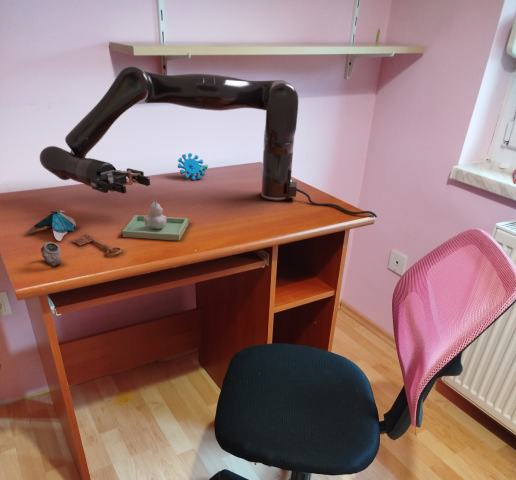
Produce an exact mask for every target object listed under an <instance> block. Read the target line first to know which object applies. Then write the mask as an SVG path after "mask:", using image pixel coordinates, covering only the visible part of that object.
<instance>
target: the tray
mask: <svg viewBox="0 0 516 480" xmlns="http://www.w3.org/2000/svg"><path fill="white" fill-rule="evenodd" d="M145 216H146V214H145V215H143V214H142V215H141V214H135V215H134V216H133V218H131V219H130V221H129V222H128V223H127V225H126V226H124V228H123V229H122V231H121V232H122V237H123V238H137V239H148V240H149V239H151V240H163V241H165V240H166V241H178V242H179V241H181V239H182V236H183V235H184V233H185V231H186V229H187V228H188V226H189V224H190V223H189V218H187V217H175V216H173V217H171V216H165V217H166V225H165V227H163V228H161V229H154V228H152V227H150V226H149V227H146V226H145V222H144V220H143V218H144V217H145Z"/></svg>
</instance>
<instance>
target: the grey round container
mask: <svg viewBox="0 0 516 480" xmlns="http://www.w3.org/2000/svg"><path fill="white" fill-rule="evenodd" d="M40 252H41V255H42V257H43V259H44V261H46V263H47V264H48V265H51V266H53V267H58V266H60V265H61V264H62V256H61V247H60V246H59V245H58V244H57V243H55V242H53V241H49V242H45V243H43V244H42V246H41V248H40Z"/></svg>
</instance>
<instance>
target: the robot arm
mask: <svg viewBox="0 0 516 480" xmlns="http://www.w3.org/2000/svg"><path fill="white" fill-rule="evenodd" d="M143 104H144V105H145V104H169V105H176V106H180V107H185V108H189V109H195V110H202V111H203V110H204V111H215V112H216V111H219V112H221V111H233V110H238V109H239V110H240V109H254V110H260V111H261V110H262V111H265V126H264V131H263V132H264V133H263V148H262V149H263V151H262V174H261V175H262V176H261V193H260V196H261V197H262V198H263V199H265V200H269V201H277V202H279V201H280V202H281V201H290V198H291V197H292V198H295V197H297V192H298V193H300V194H302V195H304V196H306V198H307V199H308V202H309V203H310V204H312V205H314V206H321V207H326V206H327V207H328V206H329V207H335V208H338V209H339V210H341V211H343V212H345V213H348V214H350V215H362V214H363V215H364V214H370V215H372V216H373V217H374V218H378V215H377V214H375V212H373V211H370V210H361V211H360V210H359V211H352V210H349V209H347V208H345V207H344V206H341V205H339V204H337V203H336V204H335V203H326V202H323V203H320V202H315V201H313V200H312V199H311V196H310V195H309V194H308V193H307V192H306V191H303V190H302V189H299V188H298V182H297V181H292V173H293V157H294V143H295V135H296V132H297V125H298V124H297V123H298V115H299V95H298V92H297V90H296V88H295V87H294V86H293V85H292V84H291V83H290V82H289V81H286V80H282V79H277V80H276V79H275V80H272V79H271V80H248V79H242V78H239V77H238V78H237V77H232V76H228V75H219V74H213V73H211V74H210V73H182V74H171V75H170V74H161V73H157V72H156V73H155V72H151V71H146V70H143V69H142V68H139V67H137V66H133V65H128V66H126V67H123V68H122V69H121V70H120V71H119V73H118V74H117V76H116V77H115V79H114V81H113V82H112V83H111V85H110V86H109V88H108V90H107V91H106V92H105V93H104V95H103V96H102V97H101V99H100V100H99V101H98V102H97V104H96V105H95V106H94V107H93V108H92V109H91V110H90V111H89V112H87V114H86V115H85V116H84V117H83V118H82V119H81V120H80V121H79V122H78V123H77V124H76V125H74V127H73V128H72V129H71V130H70V131H69V132H68V133H67V134H66V136H65V137H64V141H65V143H66V145H67V147H68V148H69V149H70V151H68V150H66V149H63V148H62V147H59V146H57V145H49V146H46V147H44V148H43V149H42V150H41V152H40V154H39V162H40V164H41V166H42V167H43V168H44V169H45V170H46V171H48V172H49V173H51V174H52V175H54V176H56V177H57V178H58V179H60V180H63V181H69V180H72V181H74V182H77V183H80V184H82V185H85V186H88V187H90V188H91V189H92V190H95V191H97V192H101V193H103V194H108V193H109V191H110V192H111V193H114V192H117V193H119V194H127V186H132V185H133V184H138V185H141V186H142V185H143V186H145V187H149V186H151V178H150V177H149V176H145V172H144V171H143V170H138V169H133V168H128V167H127V168H126V170H121V169H116V167H115V166H114V164H112V163H110V162H108V161H104V160H99V159H96V158H91V157H86V156H87V155H88V154H89V153H90V152H91V151H92V149H93V148H94V147H95V146H97V144H98V143H99V142H100V141H101V140H102V139H103V137H104V136H105V135H106V134H107V132H108V131H110V129H111V127H113V125H114V123H116V121H117V120H118V119H119V118H120V117H121V116H122V115H123V114H124V113H125V112H127V111H128V110H129V109H130V108H132V107H133V106H135V105H143Z"/></svg>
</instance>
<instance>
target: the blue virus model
mask: <svg viewBox="0 0 516 480" xmlns="http://www.w3.org/2000/svg"><path fill="white" fill-rule="evenodd" d="M192 156H193V153H191V152H188V154H185V153H182V155H181V157H179V158H178V159H177V161H178V164H177V168H178V169H180V170H179V173H180V175H184V174H185V173H186V174H185V175H184V178H186V179H189V178H190V176H191V178H190V180H191V181H195V180H196V178H197V180H201V179H202V176H205V174H206V170H208V168H209V164H205V165H203V164H204V159H201V158H200V159H199V155H197V154H195V155H194V157H193V158H192ZM187 157H188V158H187ZM196 175H197V177H196Z"/></svg>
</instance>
